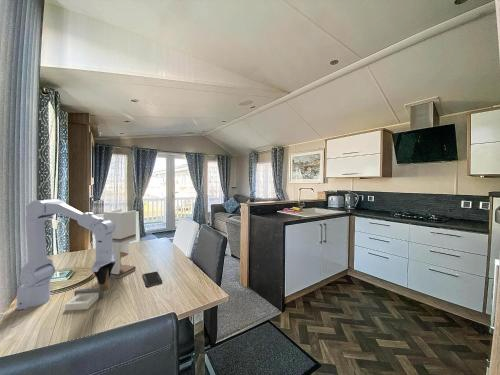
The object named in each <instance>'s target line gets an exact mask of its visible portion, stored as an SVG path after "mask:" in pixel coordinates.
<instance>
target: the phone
mask: <svg viewBox="0 0 500 375" xmlns="http://www.w3.org/2000/svg"><path fill="white" fill-rule="evenodd" d="M142 279H143V282H144V285H145V287H146V288H149V287H153V286H158V285H162V284H163V280H162V277H161V275H160V274H159V272H158V271H152V272H148V273H142Z"/></svg>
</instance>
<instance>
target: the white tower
mask: <svg viewBox="0 0 500 375" xmlns="http://www.w3.org/2000/svg"><path fill="white" fill-rule="evenodd" d="M102 218H103V219H104V220H111V221H113V222H114V223H115V226H116V228H115V230H114V231H113V232H112V254H115V258H114V259H115V264H114V266H113V268H112V271H111V275H110V278H115V279H122V278H123V277H125V276H127V275H129V274H131V273H132V272H134V271H136V270H137V269H136V265H128V264H122V259H123V258H124V257H127V256H129V255H130V249H129V248H130V246H129V245H130V242H134V241H137V210H134V209H133V210H129V211H123V210H122V209H115V210H108V211H103V216H102Z"/></svg>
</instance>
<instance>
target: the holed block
mask: <svg viewBox="0 0 500 375" xmlns="http://www.w3.org/2000/svg"><path fill="white" fill-rule="evenodd" d="M98 299H100V298H99V293H80V294H77V295H76V296H75V297H74V296H73V297H72V298H71V299H70V300H68V301H67V302H66V303H65V304H64V306H65V307H64V309H65V310H64V311H78V310H79V311H81V310H82V311H83V310H89V309H90V308H91V306H92V305H94V304H95V303H96V302H97V300H98Z"/></svg>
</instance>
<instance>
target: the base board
mask: <svg viewBox="0 0 500 375" xmlns="http://www.w3.org/2000/svg"><path fill="white" fill-rule="evenodd" d="M80 293H99V298H98V299H104V297H105V291H100V287H99V288H82V289H81V288H80V289H78V288H77V289H75V290H74V293H73V294H74V296H73V298H74V297H75V296H76V295H77V294H80Z"/></svg>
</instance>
